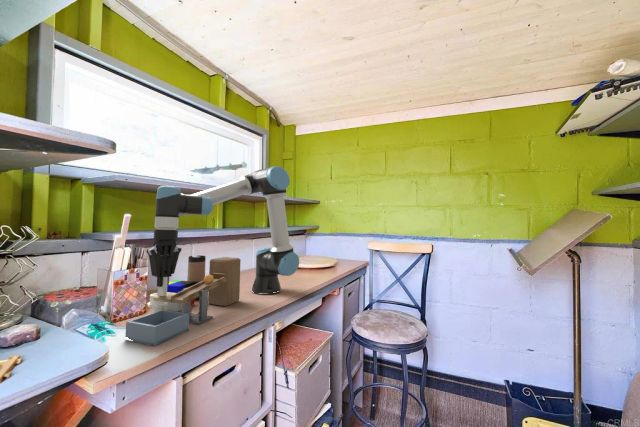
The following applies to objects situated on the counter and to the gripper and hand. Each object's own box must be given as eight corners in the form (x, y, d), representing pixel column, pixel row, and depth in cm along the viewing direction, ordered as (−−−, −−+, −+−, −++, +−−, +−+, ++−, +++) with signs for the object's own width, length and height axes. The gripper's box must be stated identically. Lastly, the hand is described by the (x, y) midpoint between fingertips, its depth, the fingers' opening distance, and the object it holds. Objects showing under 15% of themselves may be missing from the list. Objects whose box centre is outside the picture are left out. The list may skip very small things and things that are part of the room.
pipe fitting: (171, 313, 105) (172, 292, 106) (154, 319, 98) (155, 297, 99) (159, 311, 107) (160, 291, 108) (142, 316, 101) (143, 295, 101)
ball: (204, 272, 106) (200, 281, 104) (211, 273, 105) (207, 282, 103) (209, 276, 109) (205, 284, 107) (216, 277, 108) (213, 285, 106)
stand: (189, 314, 104) (190, 285, 104) (213, 318, 100) (214, 288, 101) (174, 320, 97) (176, 289, 98) (199, 324, 94) (200, 292, 94)
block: (207, 304, 118) (208, 258, 119) (222, 298, 127) (224, 256, 128) (225, 307, 114) (226, 260, 115) (240, 301, 124) (241, 257, 125)
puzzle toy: (178, 311, 108) (179, 286, 109) (157, 309, 110) (158, 284, 111) (194, 304, 118) (195, 281, 118) (174, 302, 120) (175, 280, 120)
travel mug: (199, 300, 123) (201, 257, 124) (183, 300, 123) (185, 257, 124) (206, 296, 131) (208, 255, 132) (191, 296, 131) (193, 255, 132)
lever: (200, 279, 116) (199, 271, 115) (226, 281, 111) (226, 273, 111) (153, 300, 94) (152, 291, 94) (184, 305, 90) (183, 295, 90)
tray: (161, 325, 92) (162, 309, 92) (188, 330, 89) (189, 313, 89) (125, 340, 80) (126, 321, 80) (154, 346, 77) (155, 326, 77)
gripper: (173, 229, 104) (169, 290, 102) (141, 228, 91) (136, 298, 90) (188, 229, 101) (184, 292, 100) (158, 229, 89) (153, 300, 87)
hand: (162, 295), depth 95 cm, fingers closed
